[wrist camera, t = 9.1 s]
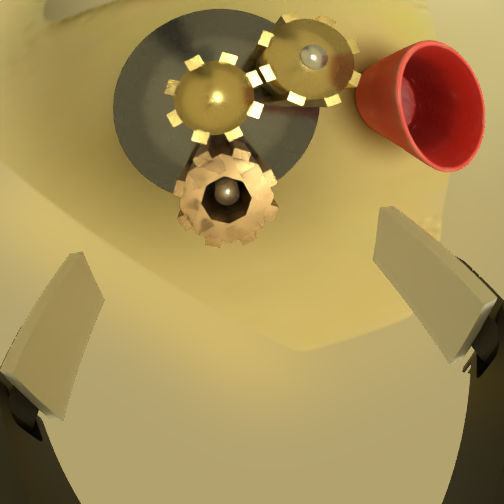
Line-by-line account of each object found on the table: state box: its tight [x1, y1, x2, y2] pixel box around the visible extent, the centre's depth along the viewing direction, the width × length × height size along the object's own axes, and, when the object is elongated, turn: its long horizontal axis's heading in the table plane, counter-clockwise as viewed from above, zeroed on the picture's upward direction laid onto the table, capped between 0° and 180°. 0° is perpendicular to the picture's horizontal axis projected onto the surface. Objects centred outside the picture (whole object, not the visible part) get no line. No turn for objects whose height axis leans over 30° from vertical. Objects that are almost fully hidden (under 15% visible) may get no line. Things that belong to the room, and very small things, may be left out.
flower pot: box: [355, 40, 485, 172], centre depth 18 cm, size 11×11×10 cm
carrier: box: [113, 9, 361, 205], centre depth 18 cm, size 18×20×8 cm
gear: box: [173, 140, 279, 248], centre depth 21 cm, size 7×7×6 cm
